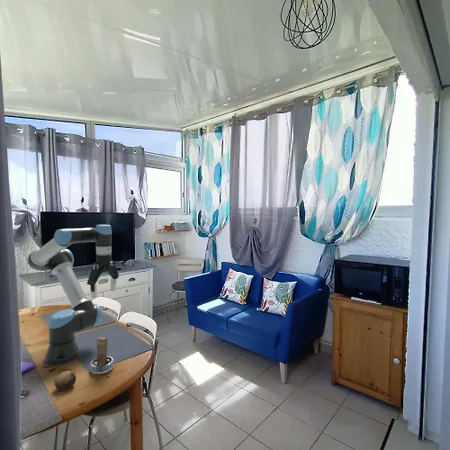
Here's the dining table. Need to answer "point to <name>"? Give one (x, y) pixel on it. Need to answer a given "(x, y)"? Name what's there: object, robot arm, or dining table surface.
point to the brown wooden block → (102, 350)
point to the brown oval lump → (65, 380)
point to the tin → (101, 366)
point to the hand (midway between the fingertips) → (103, 294)
